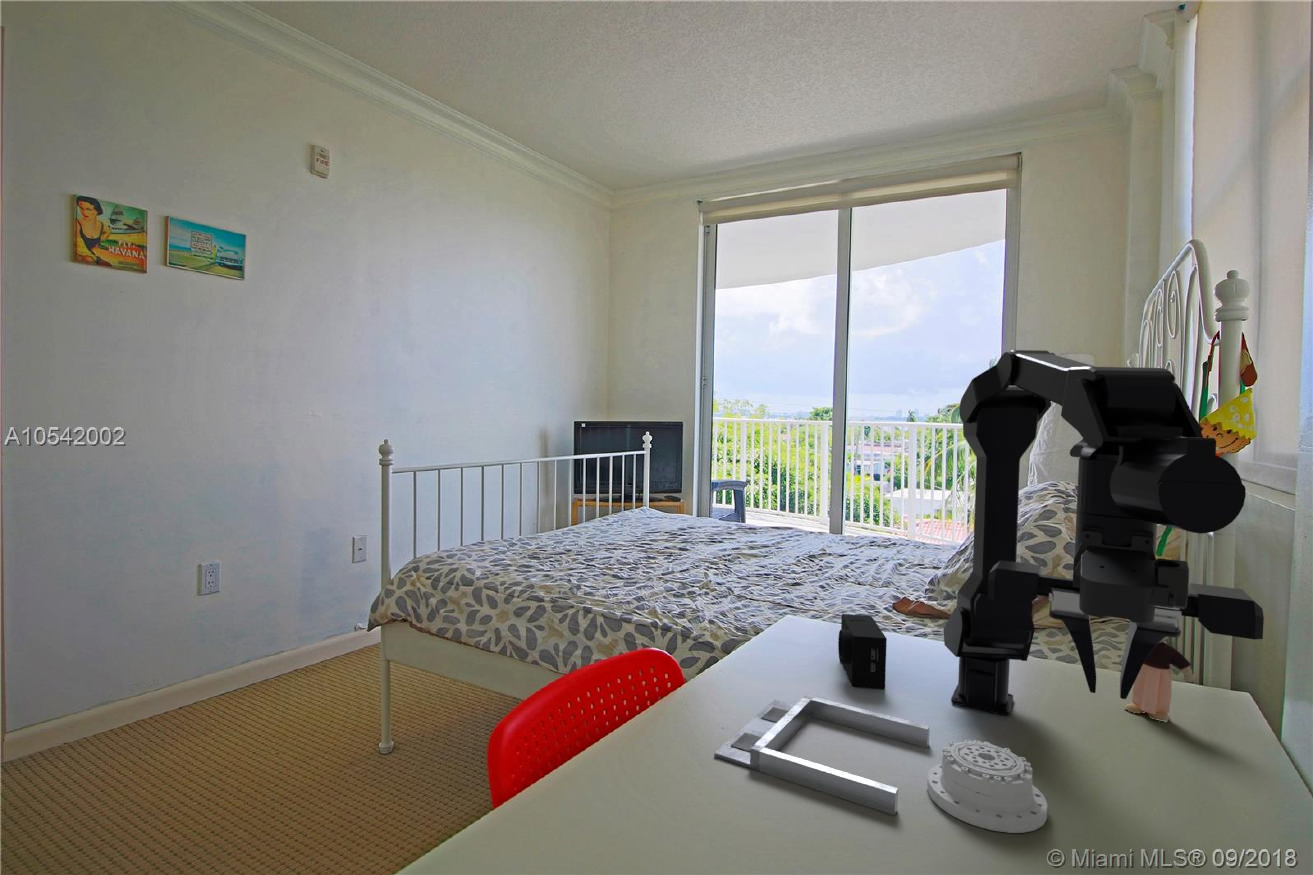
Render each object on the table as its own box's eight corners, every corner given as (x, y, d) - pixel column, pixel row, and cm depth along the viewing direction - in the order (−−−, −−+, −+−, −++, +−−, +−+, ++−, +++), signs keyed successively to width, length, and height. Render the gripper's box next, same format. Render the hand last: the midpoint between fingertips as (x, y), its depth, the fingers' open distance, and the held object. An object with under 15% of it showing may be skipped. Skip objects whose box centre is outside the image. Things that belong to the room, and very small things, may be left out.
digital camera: (831, 659, 99) (833, 612, 99) (869, 661, 98) (871, 614, 98) (842, 687, 88) (844, 634, 88) (884, 690, 88) (886, 637, 88)
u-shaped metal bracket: (774, 703, 83) (774, 687, 83) (928, 744, 73) (929, 726, 73) (714, 756, 69) (714, 737, 69) (894, 815, 60) (895, 793, 59)
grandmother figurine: (1112, 710, 83) (1117, 609, 83) (1118, 701, 86) (1122, 603, 86) (1191, 731, 78) (1196, 623, 77) (1194, 721, 81) (1200, 617, 80)
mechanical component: (938, 827, 58) (1064, 845, 56) (940, 777, 58) (1066, 793, 56) (918, 769, 68) (1025, 782, 66) (920, 726, 68) (1027, 738, 66)
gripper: (983, 513, 55) (976, 699, 56) (1287, 540, 45) (1275, 766, 46) (997, 501, 65) (991, 660, 65) (1251, 521, 55) (1242, 709, 55)
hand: (1107, 694), depth 58 cm, fingers closed
